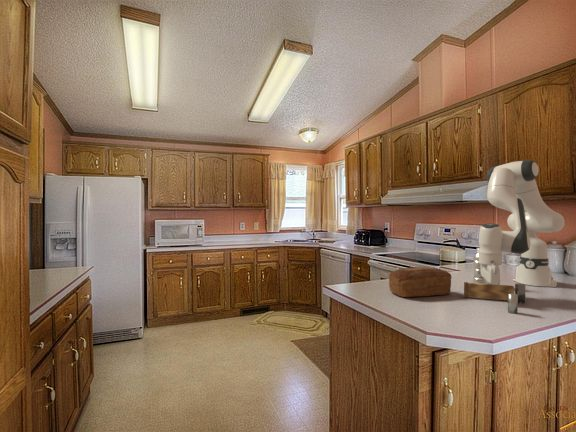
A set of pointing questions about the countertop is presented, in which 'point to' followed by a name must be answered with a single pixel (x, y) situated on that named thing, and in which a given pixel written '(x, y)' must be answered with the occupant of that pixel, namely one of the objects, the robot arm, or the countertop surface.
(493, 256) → the robot arm
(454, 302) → the countertop surface
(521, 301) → the pivot post
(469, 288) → the gate
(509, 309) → the stop post
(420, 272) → the bread
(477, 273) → the plastic bottle
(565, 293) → the countertop surface
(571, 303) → the countertop surface
